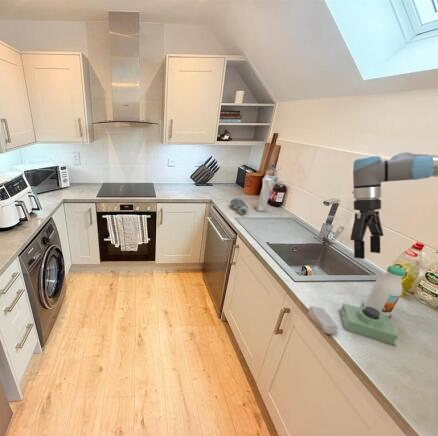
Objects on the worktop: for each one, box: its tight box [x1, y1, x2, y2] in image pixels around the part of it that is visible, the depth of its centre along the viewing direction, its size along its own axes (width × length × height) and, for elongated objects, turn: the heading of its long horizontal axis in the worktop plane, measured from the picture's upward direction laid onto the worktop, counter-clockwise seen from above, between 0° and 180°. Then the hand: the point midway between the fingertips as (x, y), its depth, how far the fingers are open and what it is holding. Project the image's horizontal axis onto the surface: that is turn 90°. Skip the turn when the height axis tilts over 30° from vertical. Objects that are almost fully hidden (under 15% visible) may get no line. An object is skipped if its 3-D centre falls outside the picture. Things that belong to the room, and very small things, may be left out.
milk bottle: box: [363, 265, 407, 317], centre depth 89 cm, size 8×8×20 cm
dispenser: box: [339, 302, 399, 345], centre depth 85 cm, size 13×10×6 cm
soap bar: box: [307, 305, 339, 335], centre depth 87 cm, size 10×6×6 cm, turn 174°
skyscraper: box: [255, 174, 274, 213], centre depth 188 cm, size 8×8×28 cm
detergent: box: [230, 197, 249, 215], centre depth 191 cm, size 13×7×25 cm
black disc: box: [363, 307, 380, 319], centre depth 84 cm, size 4×4×2 cm
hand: (367, 255), depth 89 cm, fingers open, 13 cm apart
